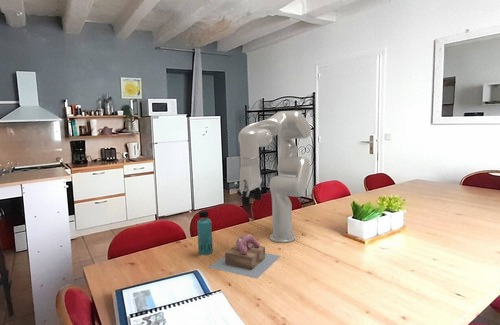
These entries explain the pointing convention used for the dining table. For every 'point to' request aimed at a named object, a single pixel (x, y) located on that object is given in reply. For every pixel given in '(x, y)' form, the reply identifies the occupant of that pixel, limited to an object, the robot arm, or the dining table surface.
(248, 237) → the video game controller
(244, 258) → the walnut block
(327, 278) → the dining table surface
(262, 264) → the base plate
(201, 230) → the beverage bottle
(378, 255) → the dining table surface
